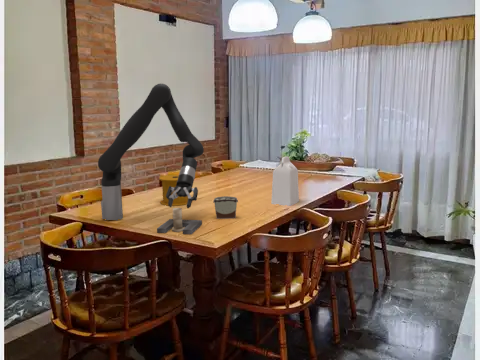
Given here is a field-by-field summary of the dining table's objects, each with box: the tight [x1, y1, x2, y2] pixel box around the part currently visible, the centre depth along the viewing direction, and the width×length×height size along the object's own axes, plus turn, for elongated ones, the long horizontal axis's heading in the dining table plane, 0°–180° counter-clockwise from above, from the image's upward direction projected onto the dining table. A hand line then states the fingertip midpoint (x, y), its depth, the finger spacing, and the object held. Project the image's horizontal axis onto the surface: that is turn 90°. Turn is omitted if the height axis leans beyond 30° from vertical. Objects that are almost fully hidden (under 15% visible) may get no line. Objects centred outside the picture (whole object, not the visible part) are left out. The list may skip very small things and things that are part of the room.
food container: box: [212, 195, 239, 220], centre depth 221 cm, size 12×6×10 cm, turn 92°
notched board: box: [156, 218, 203, 235], centre depth 203 cm, size 16×16×2 cm
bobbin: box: [171, 207, 185, 233], centre depth 200 cm, size 5×5×10 cm
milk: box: [270, 155, 300, 207], centre depth 248 cm, size 12×12×26 cm
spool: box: [158, 174, 189, 207], centre depth 254 cm, size 18×18×15 cm
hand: (178, 206), depth 201 cm, fingers open, 8 cm apart
